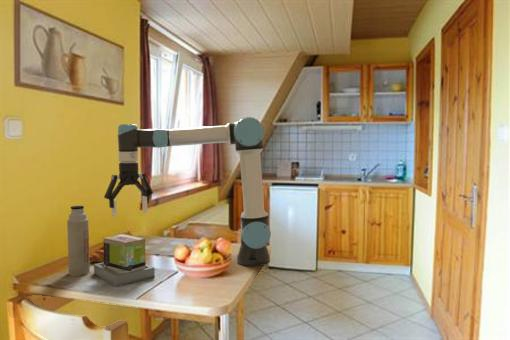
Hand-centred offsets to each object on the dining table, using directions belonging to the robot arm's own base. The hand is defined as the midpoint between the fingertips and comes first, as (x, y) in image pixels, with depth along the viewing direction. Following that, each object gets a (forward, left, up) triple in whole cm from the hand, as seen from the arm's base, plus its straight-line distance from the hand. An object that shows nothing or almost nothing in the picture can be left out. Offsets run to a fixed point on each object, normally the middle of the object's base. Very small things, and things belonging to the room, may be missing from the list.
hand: (130, 213), depth 163 cm
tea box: (-1, +3, -24) cm, 25 cm away
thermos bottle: (+15, +16, -25) cm, 33 cm away
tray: (-1, +4, -25) cm, 25 cm away
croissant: (+26, -2, -25) cm, 37 cm away
